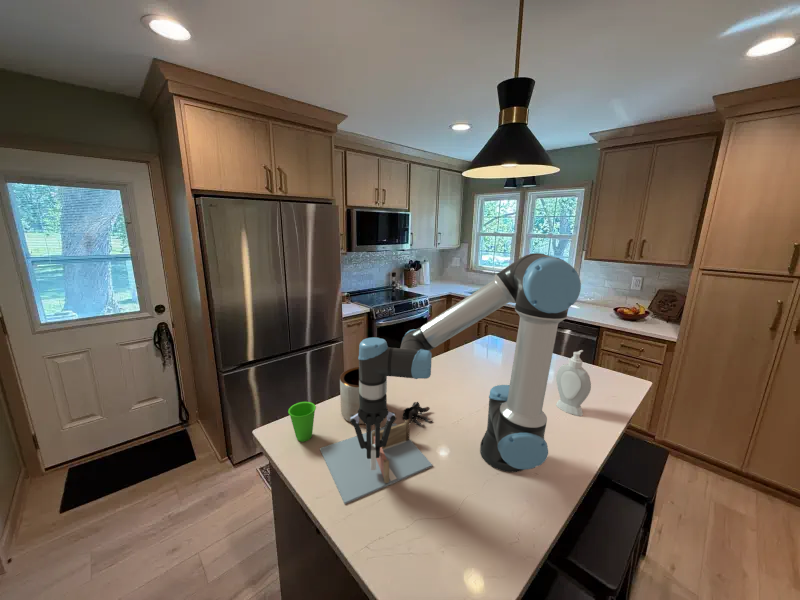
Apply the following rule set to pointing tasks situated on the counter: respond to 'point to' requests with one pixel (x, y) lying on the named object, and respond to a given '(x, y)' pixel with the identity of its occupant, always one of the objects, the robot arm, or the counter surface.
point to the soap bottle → (572, 385)
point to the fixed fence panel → (396, 434)
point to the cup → (302, 419)
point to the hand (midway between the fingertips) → (373, 466)
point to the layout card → (356, 469)
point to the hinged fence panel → (383, 465)
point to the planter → (350, 393)
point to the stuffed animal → (416, 414)
